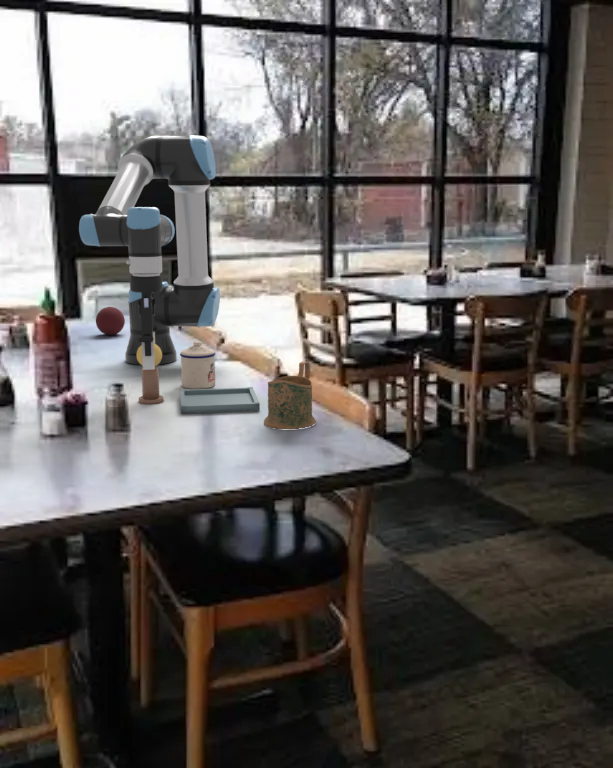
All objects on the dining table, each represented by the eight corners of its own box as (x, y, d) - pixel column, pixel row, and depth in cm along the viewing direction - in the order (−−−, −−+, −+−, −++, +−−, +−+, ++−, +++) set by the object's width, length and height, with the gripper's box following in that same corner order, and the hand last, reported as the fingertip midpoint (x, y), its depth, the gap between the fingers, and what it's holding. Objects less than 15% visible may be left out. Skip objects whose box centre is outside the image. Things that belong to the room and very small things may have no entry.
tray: (180, 396, 197) (180, 389, 197) (252, 394, 200) (252, 387, 199) (181, 414, 182) (181, 406, 181) (259, 410, 185) (259, 403, 184)
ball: (137, 365, 193) (136, 340, 192) (162, 364, 194) (161, 340, 193) (136, 370, 188) (135, 345, 186) (162, 369, 189) (161, 344, 187)
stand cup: (139, 398, 195) (137, 363, 193) (163, 397, 196) (162, 362, 194) (138, 404, 190) (136, 368, 188) (163, 403, 191) (162, 367, 189)
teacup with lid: (215, 389, 205) (214, 344, 202) (180, 390, 204) (178, 345, 201) (216, 378, 217) (215, 336, 214) (182, 379, 216) (180, 337, 213)
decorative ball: (121, 337, 277) (120, 309, 275) (93, 337, 278) (91, 308, 275) (128, 332, 287) (127, 305, 285) (100, 332, 287) (99, 304, 285)
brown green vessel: (331, 411, 184) (331, 361, 182) (306, 432, 168) (306, 377, 165) (284, 407, 188) (284, 357, 185) (255, 427, 172) (255, 373, 169)
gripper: (131, 270, 197) (135, 354, 202) (126, 279, 173) (131, 375, 178) (162, 269, 198) (165, 353, 203) (161, 279, 174) (165, 374, 179)
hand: (149, 363), depth 191 cm, fingers open, 13 cm apart
